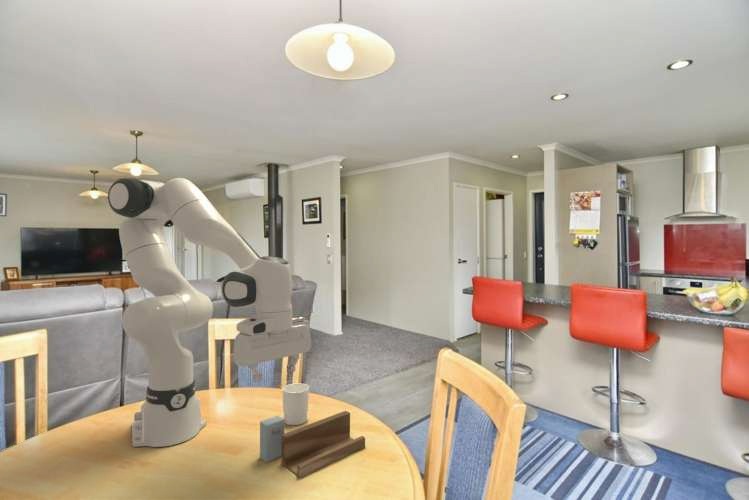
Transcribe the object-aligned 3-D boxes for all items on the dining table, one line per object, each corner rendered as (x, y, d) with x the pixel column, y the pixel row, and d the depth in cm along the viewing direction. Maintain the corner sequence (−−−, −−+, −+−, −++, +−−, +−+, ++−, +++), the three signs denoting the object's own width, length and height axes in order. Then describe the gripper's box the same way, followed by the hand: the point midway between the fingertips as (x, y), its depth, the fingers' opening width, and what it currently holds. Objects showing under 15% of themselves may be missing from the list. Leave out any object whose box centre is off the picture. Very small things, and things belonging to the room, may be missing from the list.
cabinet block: (259, 457, 97) (260, 421, 97) (277, 450, 100) (277, 415, 100) (267, 463, 94) (267, 426, 94) (285, 455, 98) (285, 420, 98)
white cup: (303, 427, 113) (303, 393, 113) (277, 425, 114) (277, 391, 114) (312, 416, 120) (312, 384, 120) (288, 413, 122) (289, 382, 122)
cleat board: (281, 463, 94) (281, 434, 94) (345, 435, 108) (345, 410, 108) (300, 477, 88) (300, 447, 88) (365, 446, 102) (365, 420, 102)
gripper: (302, 314, 107) (302, 364, 107) (230, 325, 93) (230, 383, 93) (315, 317, 103) (316, 369, 103) (242, 329, 88) (242, 390, 88)
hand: (274, 376), depth 98 cm, fingers open, 8 cm apart
